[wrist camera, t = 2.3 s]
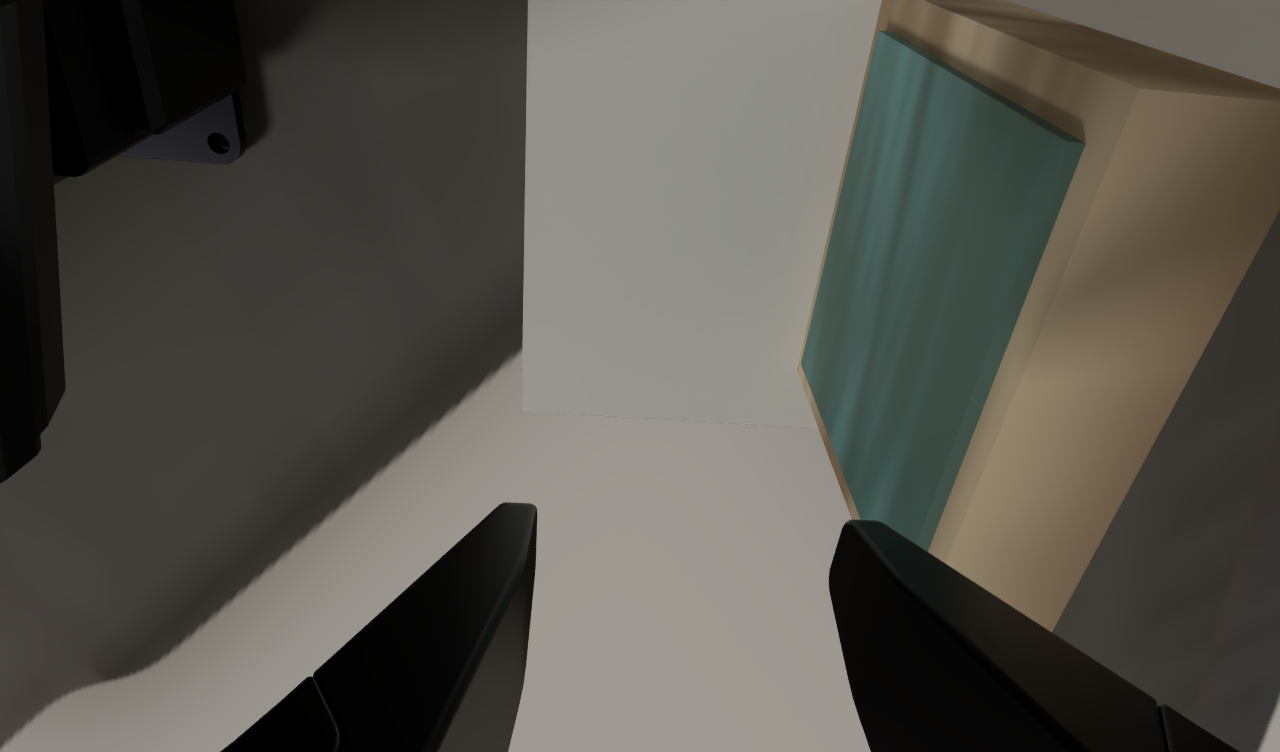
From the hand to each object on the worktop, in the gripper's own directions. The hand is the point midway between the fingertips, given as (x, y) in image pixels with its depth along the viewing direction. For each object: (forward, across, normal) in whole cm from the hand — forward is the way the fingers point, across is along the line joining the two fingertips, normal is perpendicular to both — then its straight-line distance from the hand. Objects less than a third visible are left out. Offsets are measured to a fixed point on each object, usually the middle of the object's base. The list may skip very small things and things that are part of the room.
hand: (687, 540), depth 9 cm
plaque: (+12, +6, 0) cm, 14 cm away
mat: (+13, +6, 0) cm, 15 cm away
